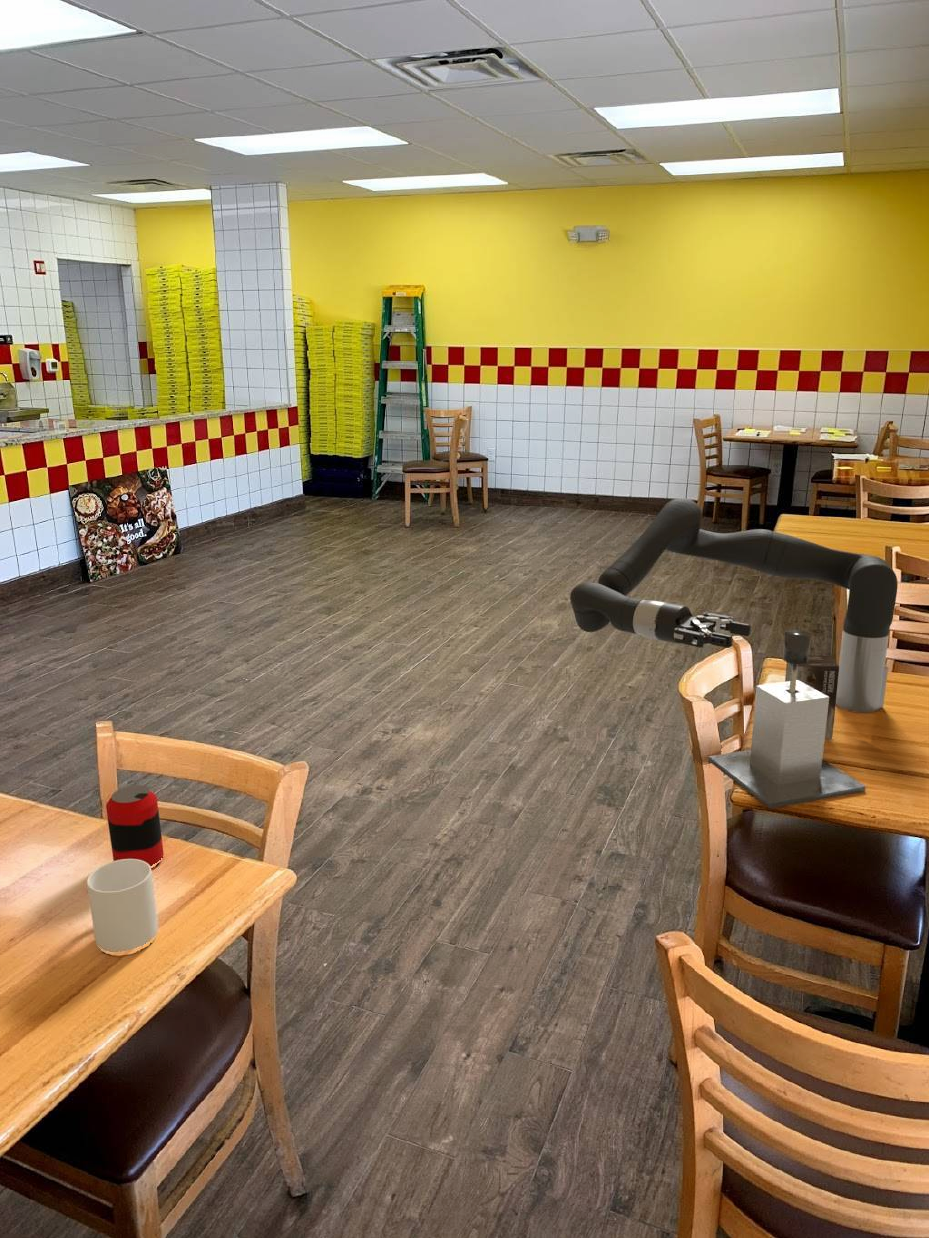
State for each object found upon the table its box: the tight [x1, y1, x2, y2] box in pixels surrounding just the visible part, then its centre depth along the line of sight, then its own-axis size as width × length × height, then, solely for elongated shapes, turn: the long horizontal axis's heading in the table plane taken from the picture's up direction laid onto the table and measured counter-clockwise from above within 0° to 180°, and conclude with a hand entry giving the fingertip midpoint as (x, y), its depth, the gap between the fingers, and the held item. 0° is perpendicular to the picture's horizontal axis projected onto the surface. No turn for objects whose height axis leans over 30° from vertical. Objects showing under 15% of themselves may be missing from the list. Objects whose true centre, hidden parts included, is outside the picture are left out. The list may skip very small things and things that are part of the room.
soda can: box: [105, 785, 165, 866], centre depth 146 cm, size 8×8×12 cm
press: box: [707, 680, 867, 809], centre depth 172 cm, size 20×20×17 cm
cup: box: [86, 859, 159, 952], centre depth 129 cm, size 8×12×10 cm
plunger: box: [782, 629, 812, 694], centre depth 169 cm, size 6×6×22 cm
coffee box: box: [784, 655, 839, 740], centre depth 190 cm, size 9×6×16 cm
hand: (740, 636), depth 173 cm, fingers open, 8 cm apart
